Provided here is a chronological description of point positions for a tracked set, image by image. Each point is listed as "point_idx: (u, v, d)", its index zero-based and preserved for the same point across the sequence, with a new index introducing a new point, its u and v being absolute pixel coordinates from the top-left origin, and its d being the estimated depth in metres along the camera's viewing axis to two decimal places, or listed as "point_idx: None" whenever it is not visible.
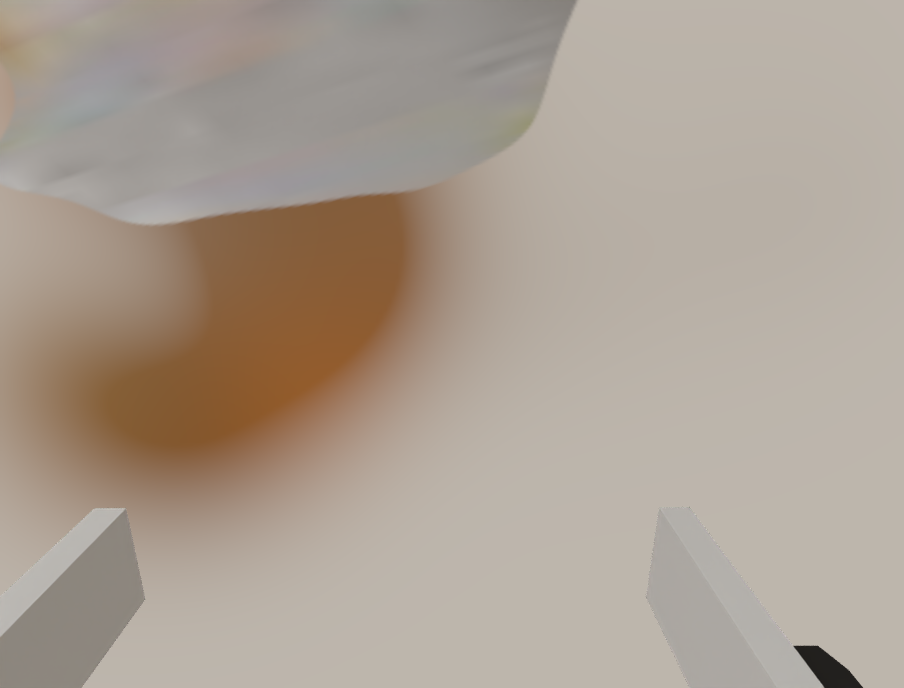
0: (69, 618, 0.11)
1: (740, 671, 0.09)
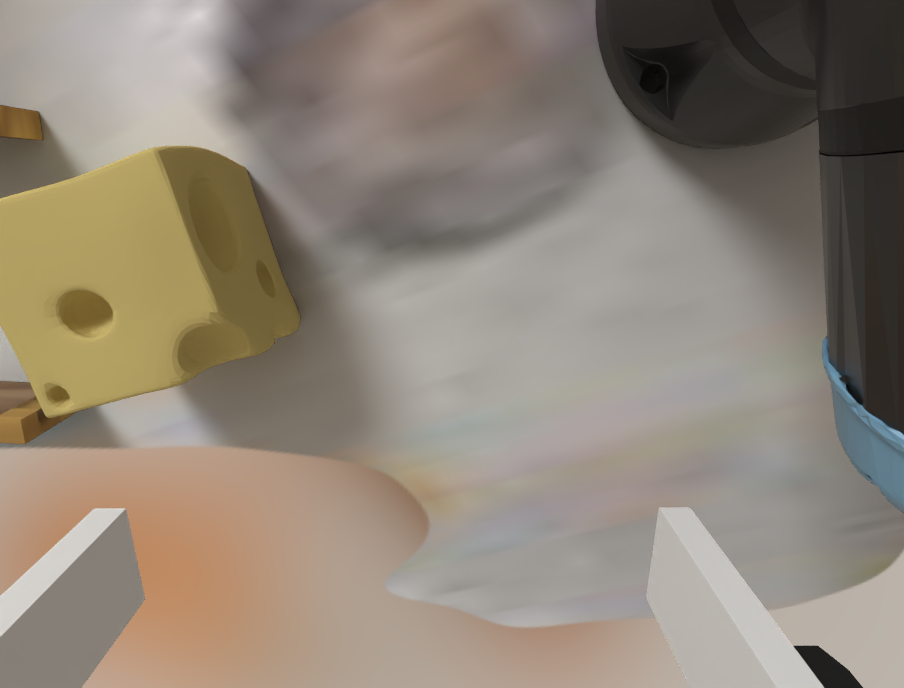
0: (69, 618, 0.11)
1: (740, 671, 0.09)
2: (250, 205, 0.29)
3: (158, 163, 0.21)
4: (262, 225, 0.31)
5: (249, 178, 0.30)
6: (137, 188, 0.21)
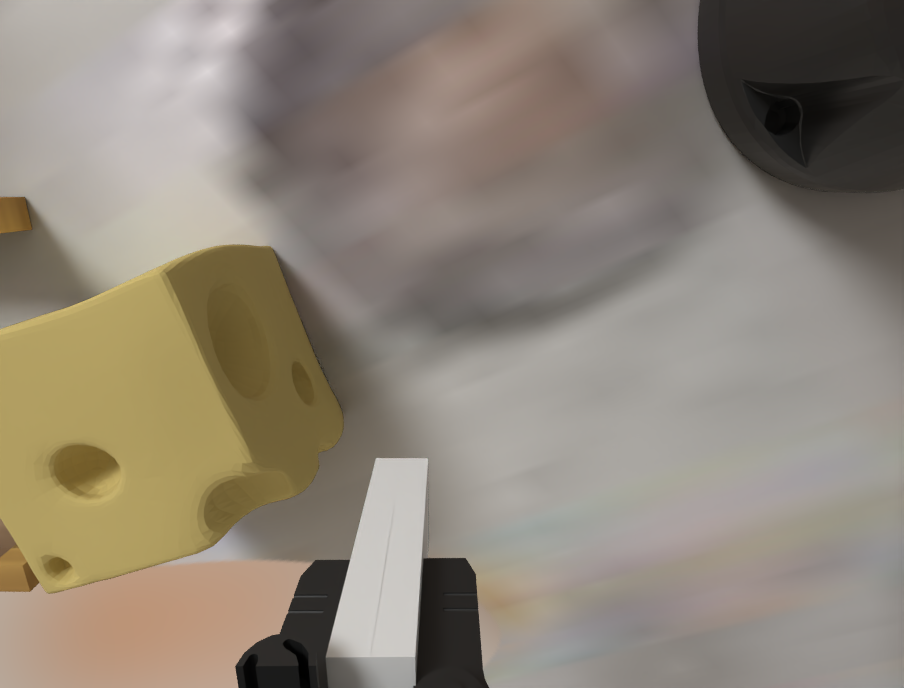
0: None
1: None
2: (280, 296, 0.24)
3: (167, 288, 0.16)
4: (295, 313, 0.26)
5: (276, 259, 0.25)
6: (141, 322, 0.16)
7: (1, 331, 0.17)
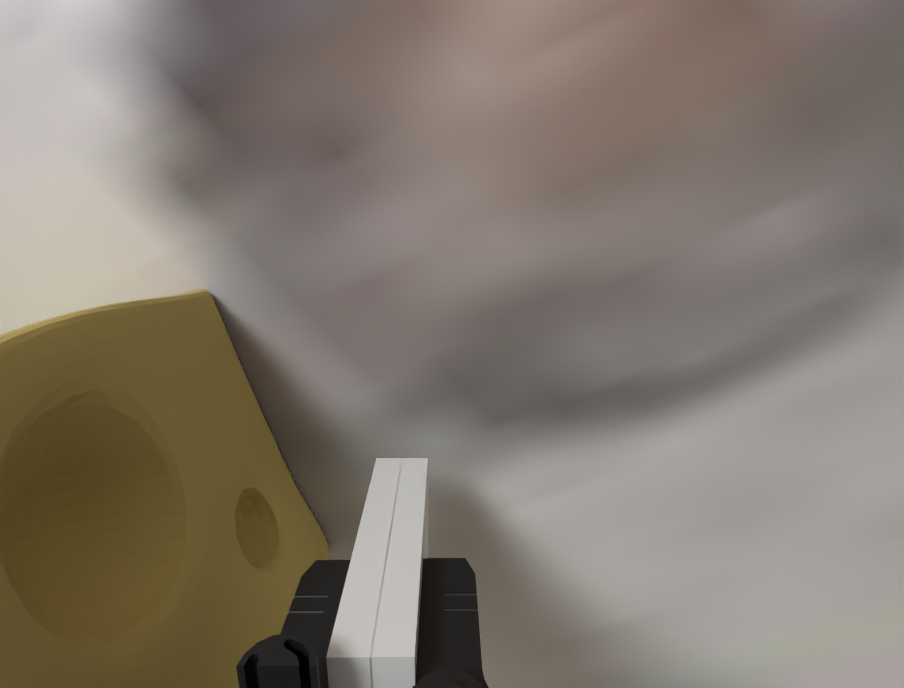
0: None
1: None
2: (219, 379, 0.14)
3: None
4: (249, 400, 0.16)
5: (218, 311, 0.15)
6: None
7: None
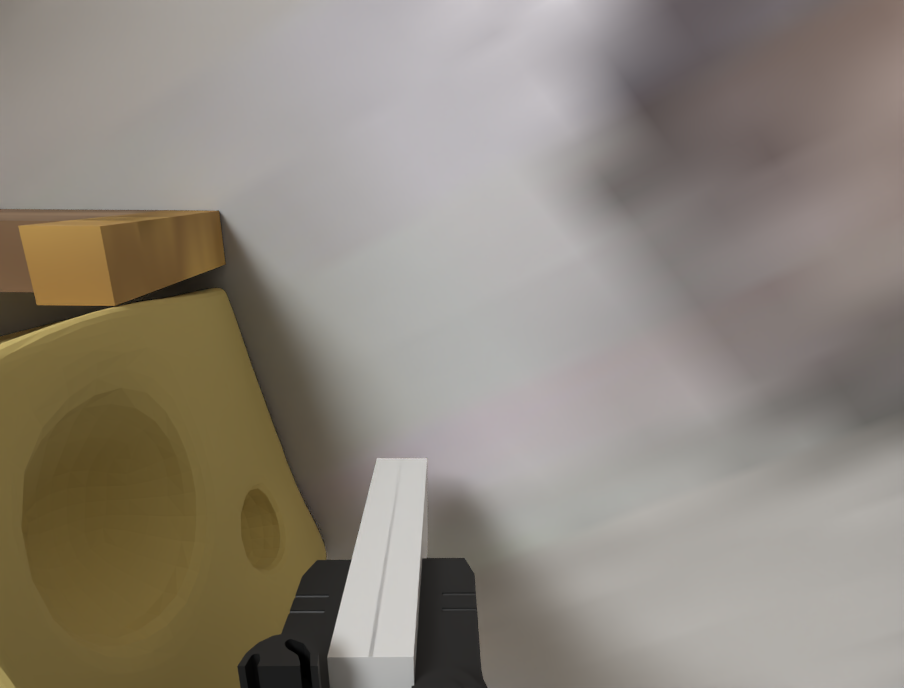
0: None
1: None
2: (231, 379, 0.14)
3: None
4: (258, 400, 0.16)
5: (232, 310, 0.15)
6: None
7: None
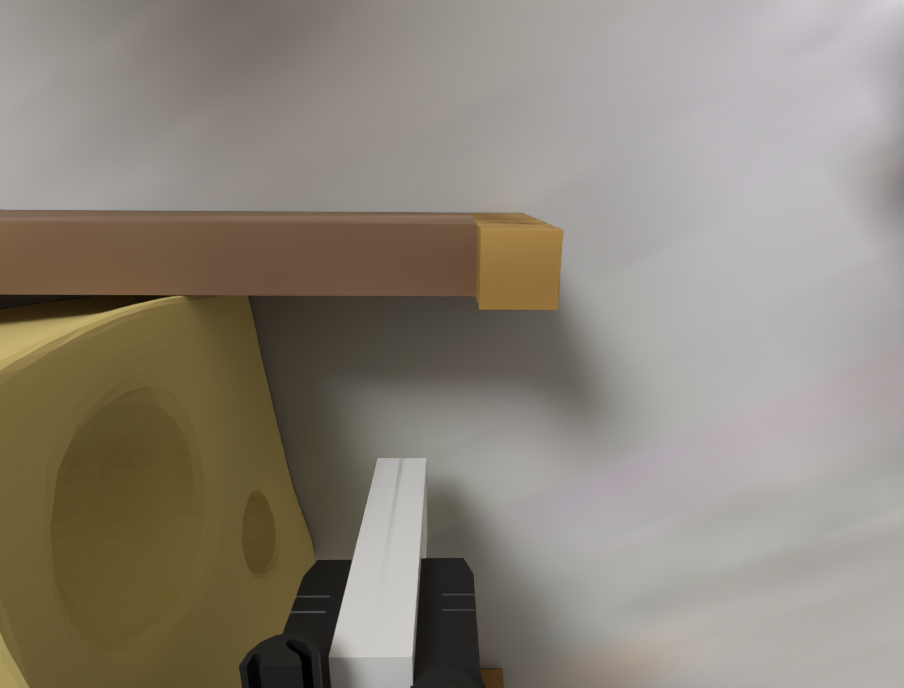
0: None
1: None
2: (245, 378, 0.14)
3: None
4: (266, 400, 0.15)
5: (250, 307, 0.15)
6: None
7: None
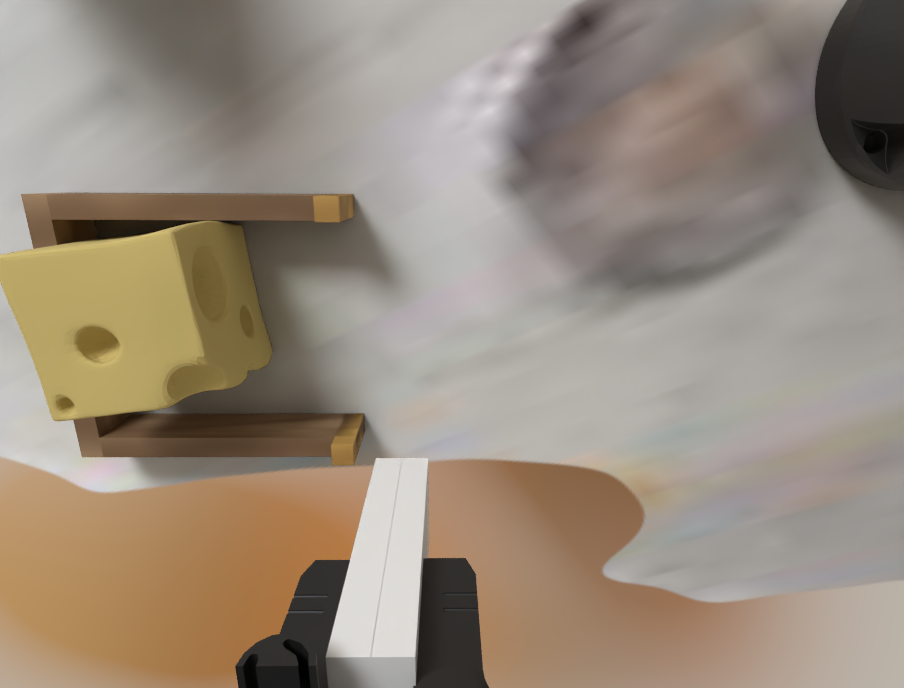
0: None
1: None
2: (241, 260, 0.35)
3: (172, 242, 0.27)
4: (250, 274, 0.37)
5: None
6: (153, 259, 0.27)
7: (65, 248, 0.27)
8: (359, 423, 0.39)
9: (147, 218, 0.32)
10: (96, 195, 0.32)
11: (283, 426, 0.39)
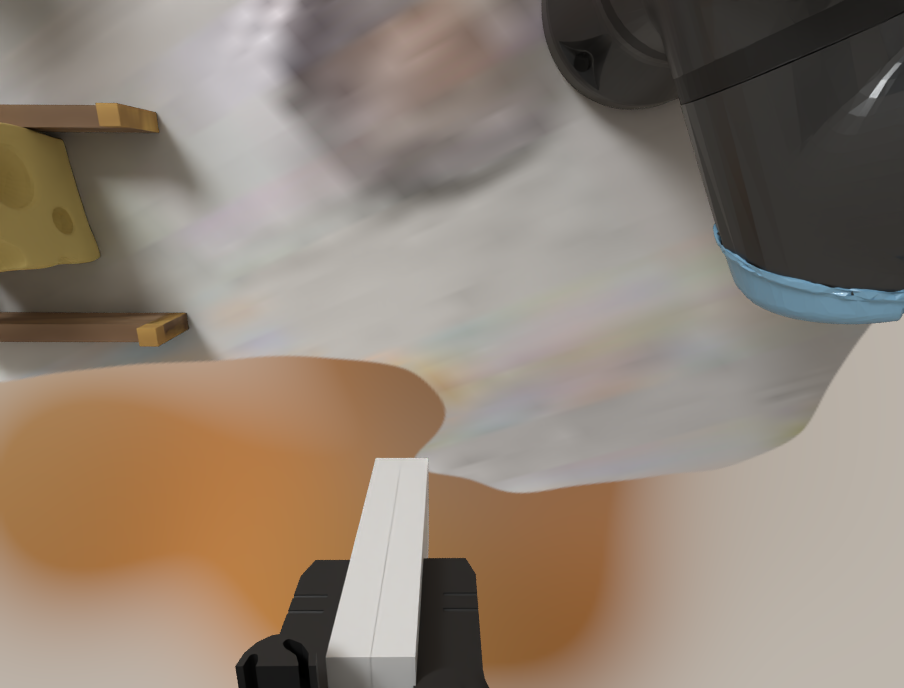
0: None
1: None
2: (58, 167, 0.41)
3: None
4: (72, 183, 0.43)
5: None
6: None
7: None
8: (175, 317, 0.45)
9: None
10: None
11: (108, 318, 0.44)
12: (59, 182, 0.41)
